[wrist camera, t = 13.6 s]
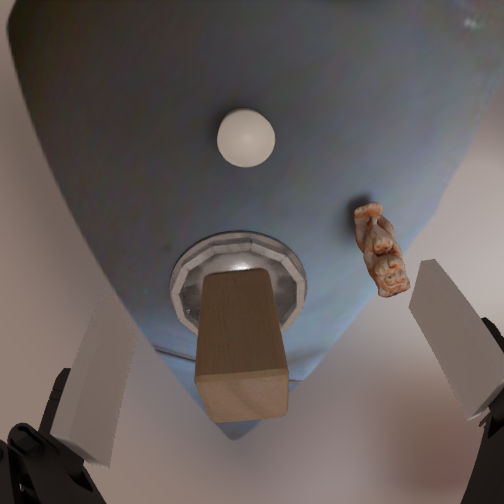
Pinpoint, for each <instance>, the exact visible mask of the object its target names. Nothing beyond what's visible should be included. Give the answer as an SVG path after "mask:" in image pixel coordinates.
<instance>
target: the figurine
mask: <svg viewBox="0 0 504 504" xmlns="http://www.w3.org/2000/svg"><path fill="white" fill-rule="evenodd" d="M382 210H383V209H382V205H381V204H380V203H376V202H375V203H370V204H367V205H364V206H361V207H358V208H357V209H355V211H354V221H355V236H356V241H357V244H358V246H359V248H360V250H361V251H362V252H363V253H364V261H365V263H366V266H367V269H368V272H369V274H370V276H371V277H372V278H373V280H374V281H375V283H376V285H377V287H378V294H379V296H382V297H391V296H394V295H397V294H398V293H401V292H404V291H406V290H408V289H409V288H410V281H409V279H408V277H407V275H406V271H405V264H404V262H403V260H402V251H401V249H400V247H399V245H398V244H397V242H396V241H395V240H394V228H393V226H392V224H391V223H390V222H389V221H388V220H387V219H386V218H384V217H383V216H382V215H381V213H382Z"/></svg>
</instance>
